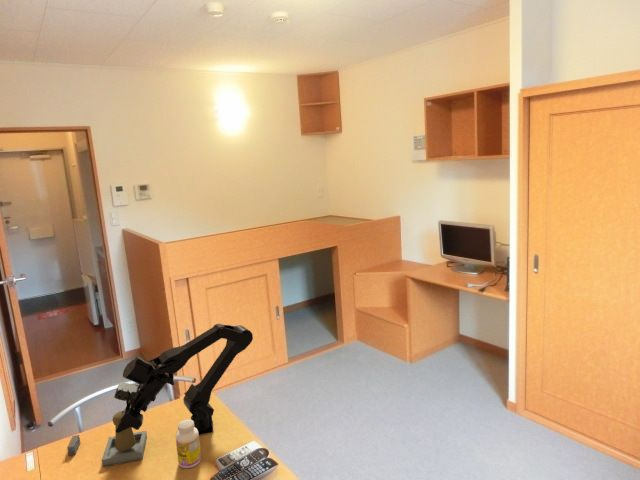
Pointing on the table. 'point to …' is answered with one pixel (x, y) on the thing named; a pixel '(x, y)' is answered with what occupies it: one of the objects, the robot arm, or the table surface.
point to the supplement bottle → (188, 444)
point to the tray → (119, 457)
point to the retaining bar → (73, 445)
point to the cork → (123, 435)
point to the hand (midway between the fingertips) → (118, 426)
